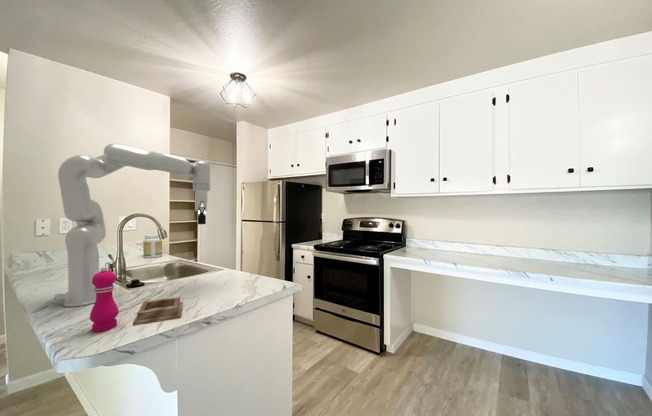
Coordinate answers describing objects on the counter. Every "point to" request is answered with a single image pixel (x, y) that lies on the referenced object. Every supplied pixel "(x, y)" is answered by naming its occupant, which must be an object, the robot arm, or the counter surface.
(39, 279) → the counter surface
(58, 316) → the counter surface
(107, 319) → the pepper mill
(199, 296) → the counter surface
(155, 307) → the wooden tray
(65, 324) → the counter surface
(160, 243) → the supplement tub
